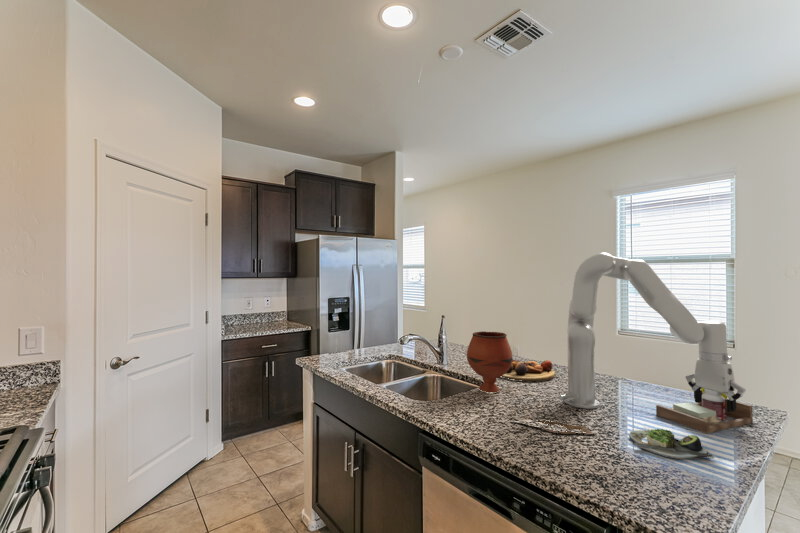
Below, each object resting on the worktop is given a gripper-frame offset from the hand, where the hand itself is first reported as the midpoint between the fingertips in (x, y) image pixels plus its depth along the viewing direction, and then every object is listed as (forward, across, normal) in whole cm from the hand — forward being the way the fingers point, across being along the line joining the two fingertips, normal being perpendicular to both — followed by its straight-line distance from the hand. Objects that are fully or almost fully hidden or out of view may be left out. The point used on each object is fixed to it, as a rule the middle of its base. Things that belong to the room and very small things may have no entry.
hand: (714, 406), depth 126 cm
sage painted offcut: (0, 0, +11) cm, 11 cm away
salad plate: (+5, -7, +34) cm, 35 cm away
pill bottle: (+5, 0, 0) cm, 5 cm away
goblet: (+4, +55, +54) cm, 77 cm away
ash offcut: (+2, +1, +11) cm, 11 cm away
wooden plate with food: (+5, +73, +23) cm, 76 cm away
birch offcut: (+3, 0, +11) cm, 11 cm away
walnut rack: (+5, 0, +6) cm, 8 cm away
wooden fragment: (+5, +16, +57) cm, 60 cm away
